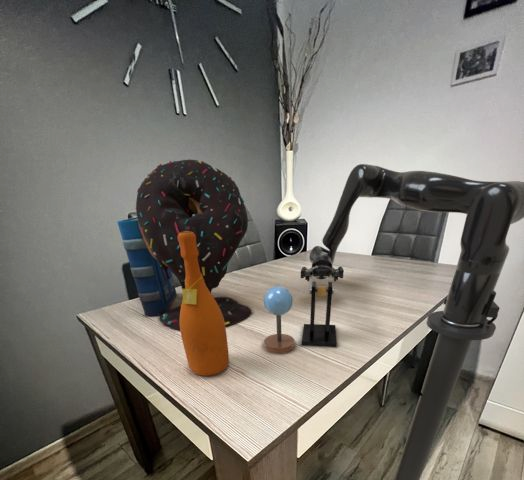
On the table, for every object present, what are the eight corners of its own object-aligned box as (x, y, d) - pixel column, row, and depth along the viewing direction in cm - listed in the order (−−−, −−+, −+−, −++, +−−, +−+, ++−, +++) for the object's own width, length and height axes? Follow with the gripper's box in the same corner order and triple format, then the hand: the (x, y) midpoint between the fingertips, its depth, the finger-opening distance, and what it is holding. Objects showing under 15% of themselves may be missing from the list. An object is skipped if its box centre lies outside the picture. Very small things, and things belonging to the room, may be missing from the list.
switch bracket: (304, 327, 81) (305, 278, 74) (335, 328, 80) (339, 278, 72) (301, 345, 72) (302, 291, 65) (336, 347, 70) (341, 291, 63)
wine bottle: (183, 364, 67) (151, 232, 52) (218, 351, 71) (199, 226, 56) (199, 383, 60) (168, 237, 45) (237, 367, 64) (221, 230, 49)
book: (168, 315, 95) (144, 219, 80) (142, 317, 94) (113, 221, 79) (179, 294, 116) (162, 214, 101) (158, 295, 115) (138, 216, 100)
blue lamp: (297, 340, 74) (298, 282, 66) (289, 355, 68) (289, 293, 60) (270, 337, 77) (267, 281, 69) (259, 351, 71) (255, 291, 62)
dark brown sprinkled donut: (265, 320, 87) (256, 146, 65) (159, 339, 79) (107, 149, 57) (241, 293, 112) (229, 160, 90) (159, 305, 104) (123, 164, 82)
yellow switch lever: (311, 293, 82) (312, 285, 82) (330, 293, 81) (331, 285, 80) (310, 296, 69) (310, 286, 68) (332, 296, 68) (333, 286, 67)
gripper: (302, 256, 101) (299, 266, 88) (342, 255, 99) (345, 266, 85) (302, 276, 105) (299, 289, 91) (340, 276, 102) (343, 289, 89)
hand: (321, 278), depth 88 cm, fingers open, 8 cm apart
